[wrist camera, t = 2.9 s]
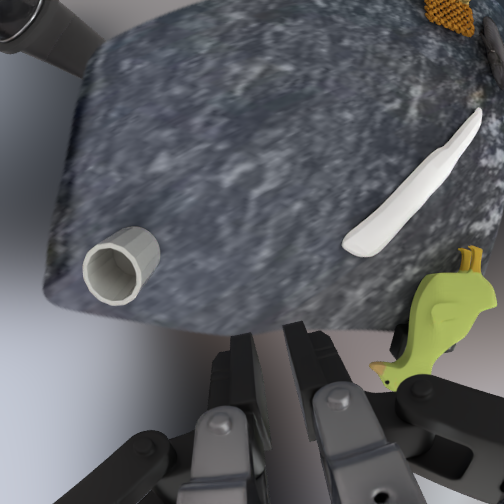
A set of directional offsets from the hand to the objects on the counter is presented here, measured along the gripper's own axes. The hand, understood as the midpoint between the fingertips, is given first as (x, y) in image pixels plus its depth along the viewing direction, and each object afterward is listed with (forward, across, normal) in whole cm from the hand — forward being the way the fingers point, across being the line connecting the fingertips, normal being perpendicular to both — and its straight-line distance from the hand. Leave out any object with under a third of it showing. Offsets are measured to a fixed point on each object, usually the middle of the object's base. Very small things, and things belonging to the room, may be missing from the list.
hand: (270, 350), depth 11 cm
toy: (+22, -26, +8) cm, 35 cm away
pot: (+23, +13, 0) cm, 26 cm away
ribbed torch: (+23, -36, -21) cm, 48 cm away
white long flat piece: (+23, -22, -2) cm, 32 cm away
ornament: (+22, -28, -22) cm, 42 cm away
